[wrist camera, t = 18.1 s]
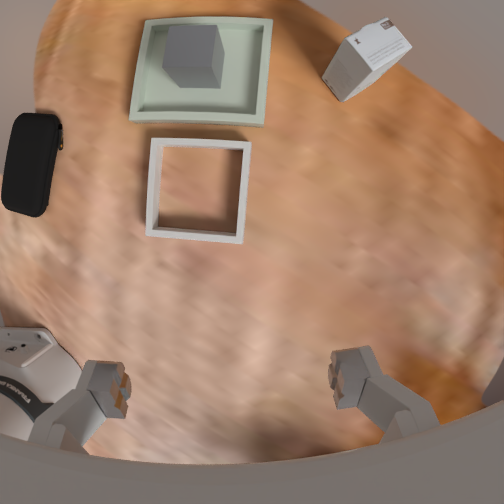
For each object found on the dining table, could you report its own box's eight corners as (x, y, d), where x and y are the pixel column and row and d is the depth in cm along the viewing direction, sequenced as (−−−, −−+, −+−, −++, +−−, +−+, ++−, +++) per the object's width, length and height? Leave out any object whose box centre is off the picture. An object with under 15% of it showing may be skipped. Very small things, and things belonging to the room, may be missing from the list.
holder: (151, 232, 40) (145, 235, 37) (157, 140, 37) (151, 137, 35) (243, 240, 40) (242, 244, 37) (251, 144, 37) (251, 142, 35)
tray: (136, 123, 37) (128, 120, 34) (151, 27, 34) (145, 20, 31) (263, 127, 37) (263, 124, 34) (272, 27, 34) (272, 19, 31)
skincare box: (341, 104, 36) (373, 76, 24) (318, 76, 35) (341, 38, 23) (376, 81, 35) (416, 49, 23) (354, 54, 34) (386, 14, 23)
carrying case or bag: (55, 220, 40) (74, 117, 37) (43, 223, 37) (63, 114, 34) (7, 206, 40) (23, 113, 37) (-5, 208, 37) (11, 111, 34)
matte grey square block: (180, 88, 35) (162, 67, 28) (185, 52, 34) (169, 26, 26) (220, 88, 35) (211, 67, 28) (224, 52, 34) (217, 25, 26)
